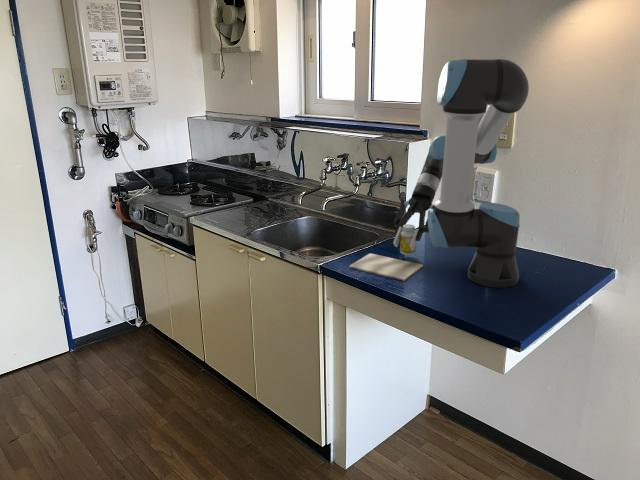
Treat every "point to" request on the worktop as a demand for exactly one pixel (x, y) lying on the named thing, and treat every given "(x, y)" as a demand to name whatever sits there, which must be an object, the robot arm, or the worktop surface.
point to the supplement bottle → (407, 240)
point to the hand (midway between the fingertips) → (403, 246)
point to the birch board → (386, 266)
